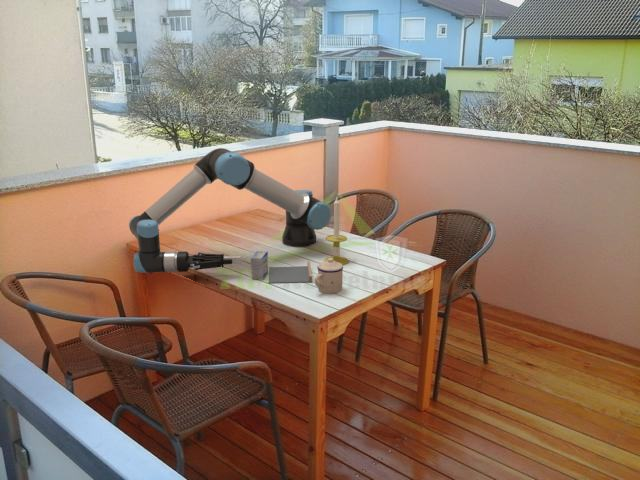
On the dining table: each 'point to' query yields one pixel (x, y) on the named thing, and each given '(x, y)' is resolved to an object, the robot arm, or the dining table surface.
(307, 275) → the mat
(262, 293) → the dining table surface
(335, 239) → the candle
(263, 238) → the dining table surface
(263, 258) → the medicine box
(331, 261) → the teacup with lid
